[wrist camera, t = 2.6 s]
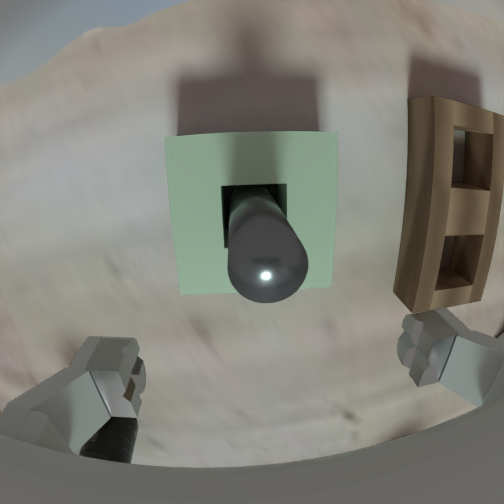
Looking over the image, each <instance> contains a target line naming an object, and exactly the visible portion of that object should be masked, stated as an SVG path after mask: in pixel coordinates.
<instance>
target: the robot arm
mask: <svg viewBox="0 0 504 504" xmlns="http://www.w3.org/2000/svg"><path fill="white" fill-rule="evenodd" d="M402 328H403V330H404V332H403V333H402V335H401V336H400V337H399V339H398V344H397V353H398V357H399V360H400V361H401V363H402V365H404V366H406V367H408V368H410V371H409V375H410V376H411V378H412V379H413V381H414V382H415V384H416V385H417V387H421V386H424V385H428V384H432V383H435V382H439V383H440V384H442V385H444V386H445V387H447V388H448V389H450V390H452V391H453V392H455V393H456V394H458V395H460V396H461V397H463V398H465V399H466V400H468V401H469V402H471V403H473V404H474V405H476V406H478V408H476V409H474V410H472V411H469V412H467V413H465V414H463V415H460V416H458V417H456V418H453V419H451V420H448V421H446V422H443V423H441V424H438V425H436V426H433V427H430V428H428V429H425V430H422V431H419V432H416V433H413V434H410V435H407V436H404V437H401V438H398V439H395V440H391V441H388V442H385V443H381V444H377V445H374V446H370V447H366V448H362V449H358V450H354V451H349V452H345V453H340V454H335V455H330V456H325V457H319V458H314V459H307V460H301V461H294V462H286V463H278V464H268V465H257V466H243V467H220V468H186V467H163V466H149V465H138V464H129V463H121V462H114V461H107V460H100V459H95V458H89V457H84V456H78V455H75V452H76V451H78V450H79V449H80V447H82V446H83V445H84V444H85V443H86V442H87V441H88V440H89V439H90V438H91V437H92V436H93V435H94V434H95V433H96V432H97V431H98V430H99V429H100V428H101V427H102V426H103V425H104V424H105V423H106V422H107V421H108V420H109V419H110V418H111V417H110V416H113V417H131V418H137V417H138V413H139V409H140V405H141V399H140V396H139V394H141V393H142V392H143V391H144V389H145V385H146V371H145V366H144V362H143V360H142V359H140V358H139V357H138V353H139V350H140V349H139V346H138V342H137V340H136V339H135V338H131V337H102V336H89V337H87V338H86V340H85V341H84V343H83V345H82V346H81V348H80V350H79V351H78V353H77V355H76V357H75V358H74V360H73V362H72V364H71V365H70V367H69V369H65V368H64V369H63V370H61V371H59V372H58V373H56V374H54V375H53V376H51V377H50V378H48V379H46V380H45V381H43V382H41V383H40V384H38V385H36V386H35V387H33V388H32V389H30V390H28V391H27V392H25V393H23V394H22V395H20V396H18V397H17V398H15V399H13V400H12V401H10V402H9V403H8V404H7V405H6V407H5V409H4V410H3V412H2V414H1V415H0V504H504V332H503V333H502V334H501V335H500V336H499V337H498V338H494V337H491V336H489V335H486V334H483V333H480V332H478V331H475V330H474V331H471V330H470V329H469V328H467V327H466V326H465V325H464V324H463V323H462V322H461V321H460V320H459V319H458V318H457V317H456V316H455V315H454V314H453V313H451V312H450V311H449V310H448V309H447V308H444V307H441V308H437V309H432V310H430V311H425V312H420V313H414V314H409V315H406V316H405V318H404V319H403V323H402Z"/></svg>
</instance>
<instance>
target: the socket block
mask: <svg viewBox="0 0 504 504" xmlns="http://www.w3.org/2000/svg"><path fill="white" fill-rule="evenodd" d="M165 152H166V167H167V180H168V192H169V203H170V213H171V223H172V232H173V241H174V249H175V258H176V265H177V273H178V280H179V287H180V294H181V295H193V294H219V293H238V292H237V291H236V289H235V288H234V287H233V285H232V284H231V282H230V279H229V276H228V270H227V264H228V238H229V229H226V224H225V206H224V187H223V186H228V185H251V184H277V196H278V206H279V208H280V209H281V211H282V212H283V214H284V216H285V217H286V219H287V220H288V222H289V224H290V225H291V227H292V228H293V230H294V232H295V233H296V235H297V236H298V238H299V240H300V241H301V243H302V244H303V246H304V248H305V250H306V252H307V256H308V265H309V266H308V272H307V276H306V278H305V280H304V282H303V284H302V285H301V287H300V288H299V289H307V288H321V287H331V284H332V272H333V259H334V244H335V226H336V204H337V164H338V132H315V131H251V132H226V133H209V134H195V135H183V136H173V137H165Z"/></svg>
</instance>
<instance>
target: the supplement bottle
mask: <svg viewBox="0 0 504 504" xmlns="http://www.w3.org/2000/svg"><path fill="white" fill-rule="evenodd" d="M110 417H111V418H110V419H109V420H108V421H107V422H106V423H105V424H104V425H103V426H102V427H101V428H100V429H99V430H98V431H97V432H96V433H95V434H94V435H93V436H92V437H91V438H90V439H89V440H88V441H87V442H86V443H85V444H84V445H83V446H82V447H81V450H80V454H79V456H84V457H89V458H95V459H100V460H107V461H114V462H121V463H129V464H131V460H132V455H133V450H134V445H135V441H136V436H137V431H138V424H137V422H136V420H135V419H134V418H131V417H113V416H110Z"/></svg>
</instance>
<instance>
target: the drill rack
mask: <svg viewBox="0 0 504 504" xmlns="http://www.w3.org/2000/svg"><path fill="white" fill-rule="evenodd" d="M454 129H457V130H462V131H465V163H464V178H463V182H454V181H452V166H453V140H454ZM503 185H504V116H503V115H500V114H497V113H494V112H491V111H488V110H485V109H482V108H478V107H475V106H472V105H468V104H465V103H461V102H458V101H454V100H450V99H446V98H442V97H438V96H426V97H418V98H410V99H408V162H407V182H406V196H405V208H404V218H403V228H402V236H401V244H400V252H399V259H398V265H397V272H396V278H395V284H394V289H393V292H394V294H395V295H396V296H397V297H398V298H399V299H400V300H401V301H402V302H403V304H404V305H405V306H406V307H407V308H408V309H409V310H410V311H411V313H417V312H423V311H429V310H432V309H437V308H441V307H444V308H446V307H452V306H457V305H462V304H467V303H472V302H477V301H481V298H482V294H483V291H484V287H485V283H486V280H487V276H488V272H489V268H490V264H491V259H492V255H493V250H494V245H495V240H496V235H497V229H498V223H499V217H500V210H501V202H502V194H503ZM449 235H457V236H456V242H455V248H454V253H453V258H452V263H451V268H448V269H439V267H440V262H441V257H442V251H443V246H444V240H445V236H449Z"/></svg>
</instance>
